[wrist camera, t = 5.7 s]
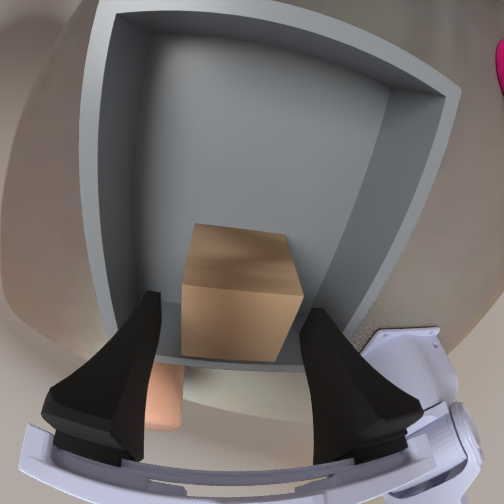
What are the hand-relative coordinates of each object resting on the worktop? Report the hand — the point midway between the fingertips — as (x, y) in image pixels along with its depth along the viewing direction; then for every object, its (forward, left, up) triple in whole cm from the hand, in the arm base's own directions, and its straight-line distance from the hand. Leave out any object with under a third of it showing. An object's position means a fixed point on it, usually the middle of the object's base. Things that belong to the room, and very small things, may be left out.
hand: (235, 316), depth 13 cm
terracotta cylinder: (+5, +11, -5) cm, 13 cm away
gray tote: (0, -4, -5) cm, 6 cm away
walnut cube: (0, 0, -4) cm, 4 cm away
